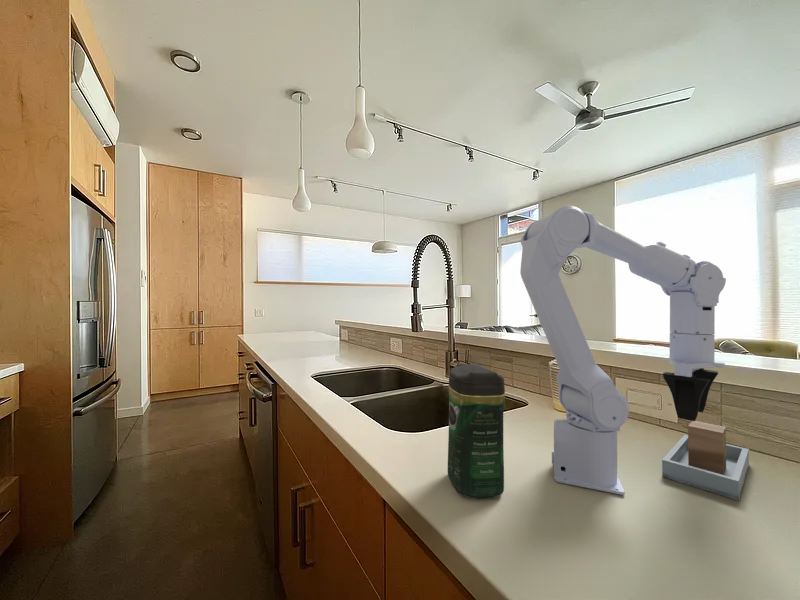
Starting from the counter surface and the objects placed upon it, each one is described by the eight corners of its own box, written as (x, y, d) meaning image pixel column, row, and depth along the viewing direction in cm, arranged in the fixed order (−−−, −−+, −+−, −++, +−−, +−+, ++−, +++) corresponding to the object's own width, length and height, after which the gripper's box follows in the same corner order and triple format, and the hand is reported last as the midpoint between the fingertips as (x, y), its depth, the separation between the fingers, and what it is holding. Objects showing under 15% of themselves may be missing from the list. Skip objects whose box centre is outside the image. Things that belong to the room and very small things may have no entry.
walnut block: (723, 475, 55) (722, 432, 55) (688, 466, 59) (688, 425, 59) (726, 467, 58) (725, 427, 58) (692, 458, 61) (692, 420, 62)
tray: (738, 500, 49) (738, 481, 49) (662, 476, 56) (662, 459, 56) (749, 464, 61) (748, 449, 61) (684, 448, 68) (684, 434, 68)
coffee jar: (512, 501, 48) (513, 371, 48) (458, 503, 47) (459, 371, 48) (488, 469, 58) (489, 360, 58) (442, 470, 57) (444, 360, 57)
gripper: (718, 337, 49) (718, 431, 48) (729, 334, 58) (729, 412, 58) (658, 333, 54) (657, 418, 54) (677, 331, 64) (677, 403, 63)
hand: (691, 414), depth 56 cm, fingers open, 7 cm apart
